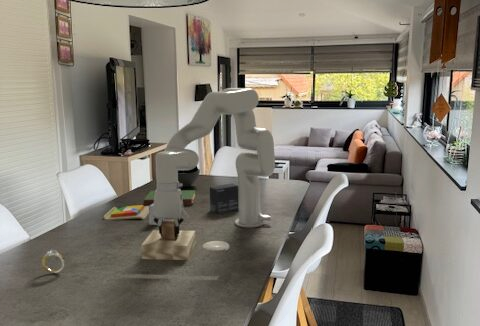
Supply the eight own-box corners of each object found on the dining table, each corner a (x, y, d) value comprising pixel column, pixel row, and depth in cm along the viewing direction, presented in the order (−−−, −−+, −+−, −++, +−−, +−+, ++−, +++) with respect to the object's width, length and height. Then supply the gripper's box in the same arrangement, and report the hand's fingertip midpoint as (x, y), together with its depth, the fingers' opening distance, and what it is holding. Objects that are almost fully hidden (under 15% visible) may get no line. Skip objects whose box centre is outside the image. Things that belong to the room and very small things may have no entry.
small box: (232, 206, 223) (232, 182, 221) (240, 209, 217) (239, 185, 215) (209, 210, 216) (209, 186, 214) (216, 213, 210) (216, 189, 208)
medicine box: (158, 225, 194) (157, 206, 192) (149, 225, 195) (148, 205, 193) (165, 220, 202) (164, 201, 200) (156, 219, 202) (155, 201, 201)
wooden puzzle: (114, 210, 220) (114, 203, 220) (152, 210, 220) (152, 203, 219) (102, 220, 203) (102, 213, 202) (143, 220, 202) (143, 213, 202)
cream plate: (230, 243, 171) (230, 241, 171) (227, 253, 161) (227, 250, 161) (204, 243, 172) (204, 240, 172) (200, 252, 162) (200, 250, 162)
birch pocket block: (195, 245, 169) (195, 230, 168) (187, 262, 153) (187, 246, 152) (154, 245, 170) (153, 230, 169) (142, 261, 155) (141, 245, 153)
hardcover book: (143, 206, 225) (143, 199, 225) (151, 197, 244) (150, 190, 243) (193, 206, 225) (193, 199, 225) (196, 197, 244) (196, 190, 243)
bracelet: (41, 275, 144) (39, 251, 143) (46, 271, 148) (44, 248, 146) (62, 275, 144) (60, 252, 142) (66, 271, 147) (65, 248, 146)
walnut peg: (177, 248, 164) (176, 219, 162) (174, 253, 159) (173, 223, 157) (165, 248, 164) (164, 219, 162) (162, 252, 160) (161, 223, 158)
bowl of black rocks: (167, 183, 275) (166, 153, 271) (200, 182, 277) (199, 152, 274) (165, 191, 255) (164, 158, 252) (200, 190, 257) (199, 158, 254)
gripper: (192, 184, 160) (194, 232, 164) (147, 183, 162) (149, 232, 165) (189, 189, 153) (190, 239, 156) (141, 188, 154) (143, 239, 158)
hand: (169, 235), depth 161 cm, fingers closed on walnut peg, 4 cm apart
